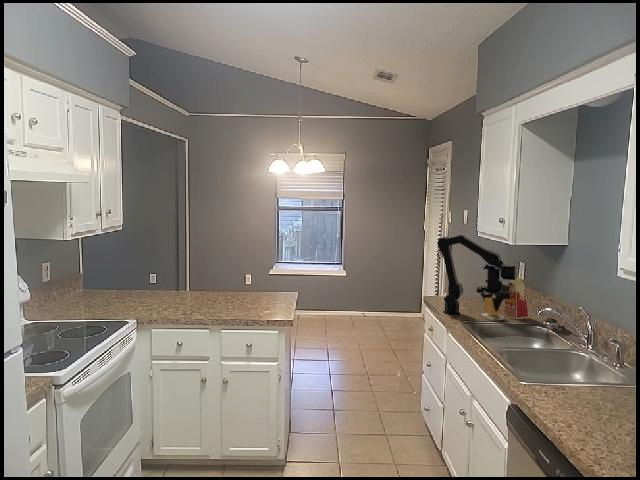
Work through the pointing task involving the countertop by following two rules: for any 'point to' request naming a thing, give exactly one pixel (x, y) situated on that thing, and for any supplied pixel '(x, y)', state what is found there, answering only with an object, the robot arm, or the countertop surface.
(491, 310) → the tan cardboard-colored cube
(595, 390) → the countertop surface
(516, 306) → the milk carton
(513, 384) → the countertop surface
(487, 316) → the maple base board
